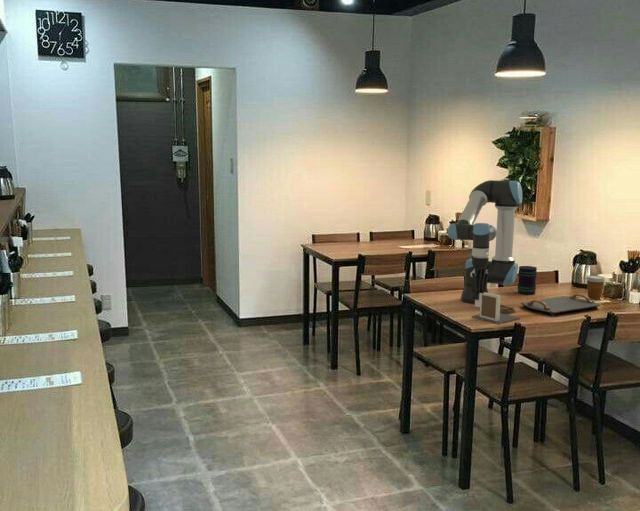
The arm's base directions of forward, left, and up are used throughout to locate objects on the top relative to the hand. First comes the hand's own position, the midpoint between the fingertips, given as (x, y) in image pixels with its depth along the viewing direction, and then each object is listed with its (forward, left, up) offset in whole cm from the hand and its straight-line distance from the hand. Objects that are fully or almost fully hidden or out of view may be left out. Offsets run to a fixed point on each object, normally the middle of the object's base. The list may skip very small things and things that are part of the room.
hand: (478, 306), depth 293 cm
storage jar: (-23, +73, -8) cm, 77 cm away
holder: (-8, +27, -8) cm, 29 cm away
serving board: (+8, +57, -9) cm, 58 cm away
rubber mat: (0, +14, -8) cm, 16 cm away
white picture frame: (0, +9, -7) cm, 12 cm away
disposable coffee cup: (+7, +92, -8) cm, 93 cm away
